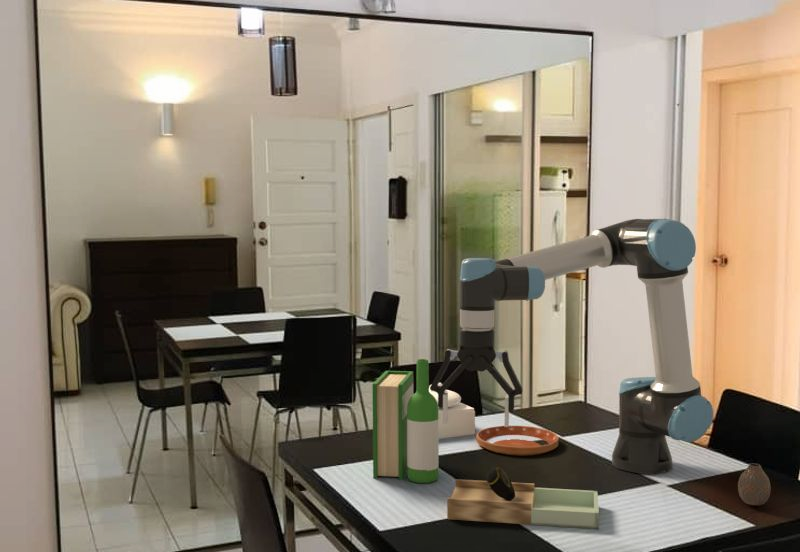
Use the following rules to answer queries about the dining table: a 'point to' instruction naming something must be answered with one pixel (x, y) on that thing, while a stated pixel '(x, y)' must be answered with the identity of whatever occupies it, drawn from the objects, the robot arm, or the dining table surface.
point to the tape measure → (500, 483)
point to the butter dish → (455, 417)
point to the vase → (754, 485)
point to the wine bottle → (422, 430)
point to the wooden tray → (490, 503)
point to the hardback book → (391, 423)
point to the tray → (565, 508)
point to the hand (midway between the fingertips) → (475, 424)
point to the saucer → (517, 440)
